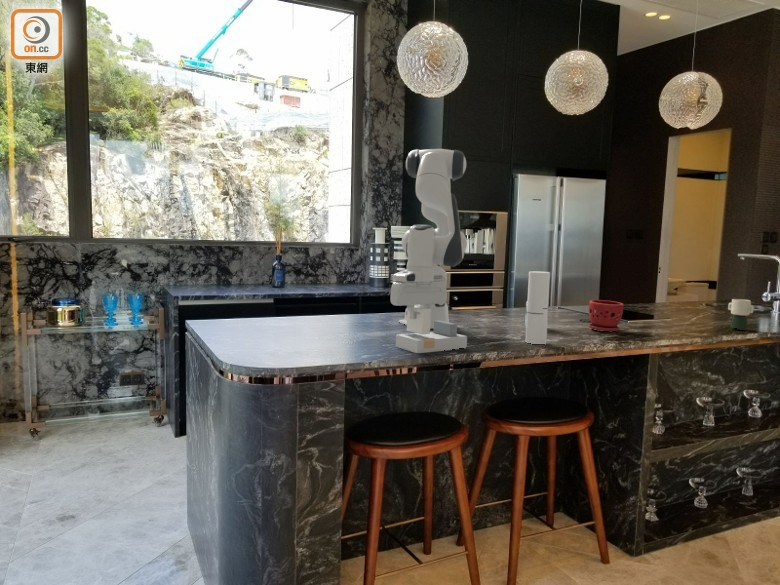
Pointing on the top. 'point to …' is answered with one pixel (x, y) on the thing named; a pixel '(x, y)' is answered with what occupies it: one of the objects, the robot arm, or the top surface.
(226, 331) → the top surface
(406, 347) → the rack
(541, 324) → the white tall box
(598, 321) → the plant pot
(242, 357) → the top surface
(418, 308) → the panel
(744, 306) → the character mug
